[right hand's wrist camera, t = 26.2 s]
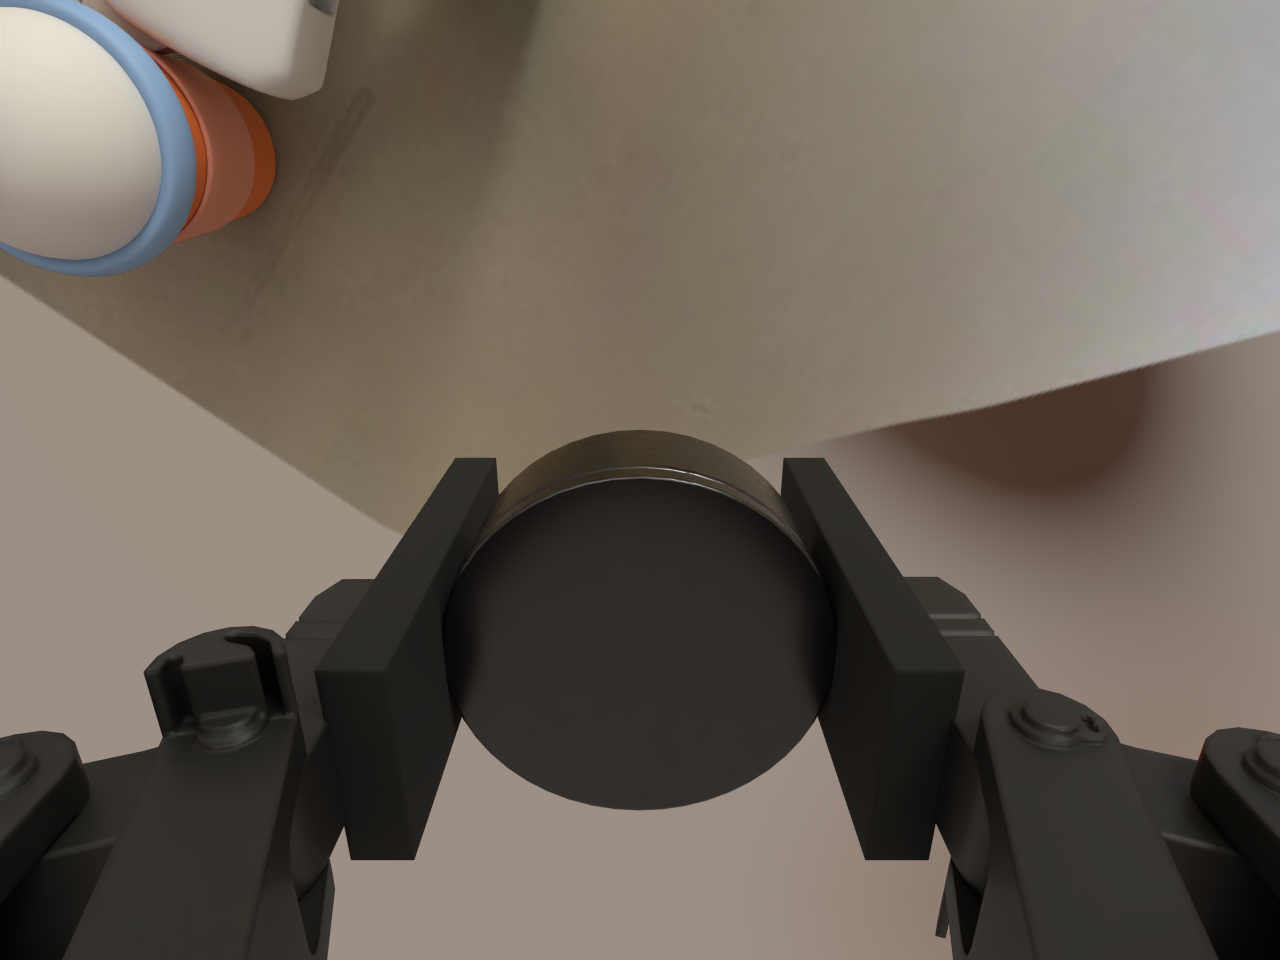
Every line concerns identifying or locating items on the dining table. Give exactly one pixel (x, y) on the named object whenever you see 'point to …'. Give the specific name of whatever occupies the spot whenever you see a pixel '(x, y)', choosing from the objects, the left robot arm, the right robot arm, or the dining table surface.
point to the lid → (639, 624)
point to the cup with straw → (114, 144)
